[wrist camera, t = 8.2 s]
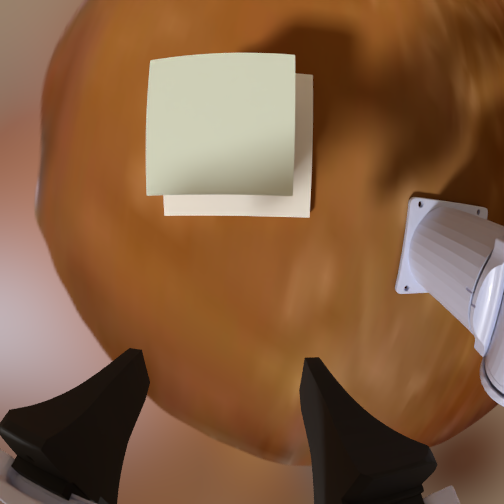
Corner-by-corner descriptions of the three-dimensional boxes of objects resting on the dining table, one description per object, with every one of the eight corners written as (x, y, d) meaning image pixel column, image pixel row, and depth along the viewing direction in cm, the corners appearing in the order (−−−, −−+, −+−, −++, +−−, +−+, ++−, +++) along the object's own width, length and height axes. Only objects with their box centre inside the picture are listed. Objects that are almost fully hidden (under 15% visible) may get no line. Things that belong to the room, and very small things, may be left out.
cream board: (310, 78, 17) (312, 74, 16) (307, 215, 20) (309, 217, 19) (168, 79, 17) (165, 76, 16) (167, 213, 20) (164, 215, 19)
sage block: (283, 86, 12) (295, 54, 8) (280, 185, 14) (292, 196, 9) (181, 88, 12) (150, 60, 8) (179, 184, 14) (146, 195, 9)
